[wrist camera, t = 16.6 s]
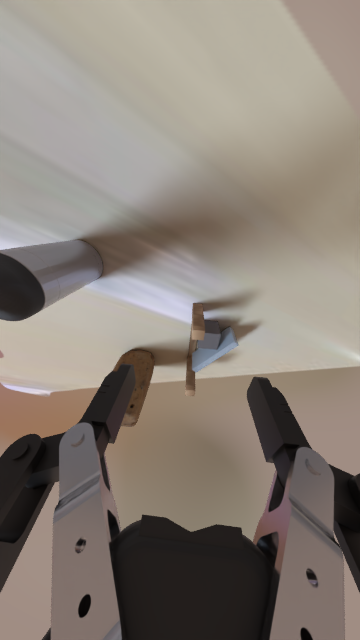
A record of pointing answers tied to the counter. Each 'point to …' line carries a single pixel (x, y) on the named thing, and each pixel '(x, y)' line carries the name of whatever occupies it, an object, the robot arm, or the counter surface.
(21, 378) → the counter surface
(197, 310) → the frame
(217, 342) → the gray rectangular block
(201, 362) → the door
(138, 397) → the brown bread loaf
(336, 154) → the counter surface
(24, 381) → the counter surface
